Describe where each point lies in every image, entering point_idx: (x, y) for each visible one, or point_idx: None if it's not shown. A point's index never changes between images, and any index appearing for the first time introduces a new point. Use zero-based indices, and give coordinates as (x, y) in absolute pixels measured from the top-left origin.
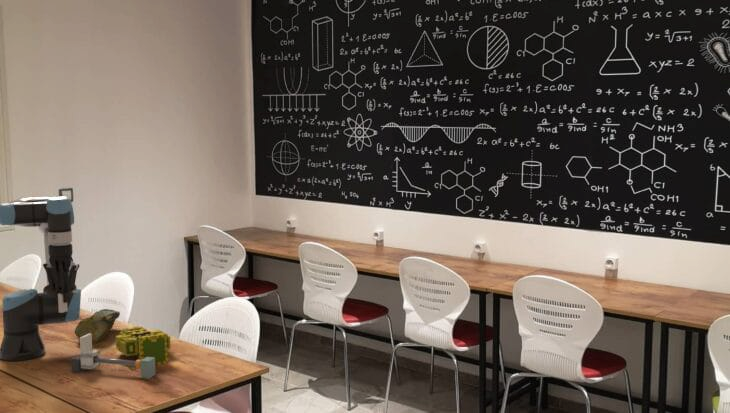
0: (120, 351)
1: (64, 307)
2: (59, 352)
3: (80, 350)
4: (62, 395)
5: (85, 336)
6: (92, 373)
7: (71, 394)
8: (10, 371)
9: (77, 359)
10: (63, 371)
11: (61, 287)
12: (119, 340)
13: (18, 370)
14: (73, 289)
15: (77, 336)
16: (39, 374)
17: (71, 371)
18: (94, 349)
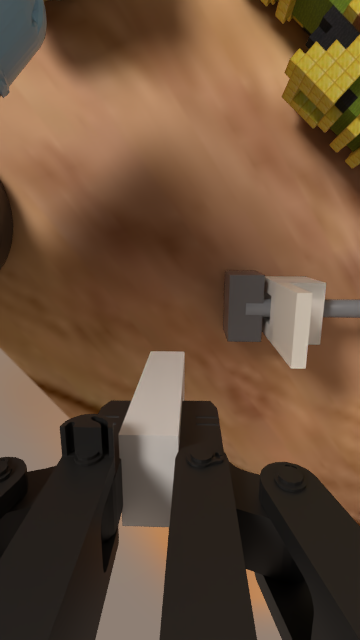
0: (332, 147)
1: (183, 400)
2: (44, 153)
3: (276, 348)
4: None
5: (307, 343)
6: None
7: (331, 479)
8: (38, 372)
9: (256, 341)
10: (195, 331)
11: (97, 511)
12: (332, 105)
13: (54, 359)
14: (317, 488)
15: None
16: (141, 372)
17: (223, 328)
18: (301, 284)
